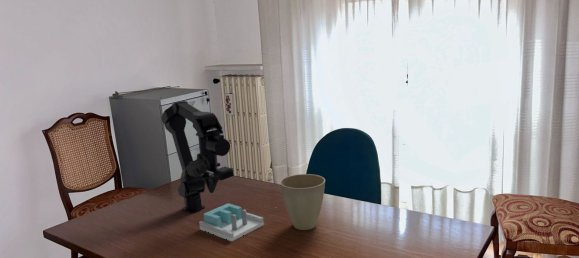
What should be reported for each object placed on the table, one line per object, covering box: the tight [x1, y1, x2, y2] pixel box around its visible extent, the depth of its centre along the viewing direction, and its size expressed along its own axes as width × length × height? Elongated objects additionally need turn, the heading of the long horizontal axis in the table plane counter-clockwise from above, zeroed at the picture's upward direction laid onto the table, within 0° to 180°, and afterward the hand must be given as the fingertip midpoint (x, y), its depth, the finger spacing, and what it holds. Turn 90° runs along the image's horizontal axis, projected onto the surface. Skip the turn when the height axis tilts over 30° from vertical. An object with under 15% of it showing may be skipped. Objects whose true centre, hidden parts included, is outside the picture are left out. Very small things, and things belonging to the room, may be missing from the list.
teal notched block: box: [203, 203, 243, 228], centre depth 157 cm, size 7×11×4 cm, turn 139°
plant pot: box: [279, 173, 326, 231], centre depth 152 cm, size 15×15×16 cm
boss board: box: [199, 209, 265, 242], centre depth 155 cm, size 16×15×6 cm
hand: (211, 192), depth 159 cm, fingers closed
